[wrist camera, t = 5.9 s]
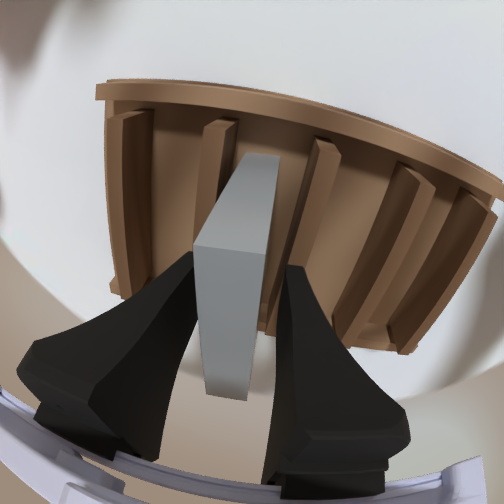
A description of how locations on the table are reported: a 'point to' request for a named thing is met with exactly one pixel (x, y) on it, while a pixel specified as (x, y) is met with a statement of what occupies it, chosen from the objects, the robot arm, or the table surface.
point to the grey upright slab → (234, 274)
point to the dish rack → (297, 201)
